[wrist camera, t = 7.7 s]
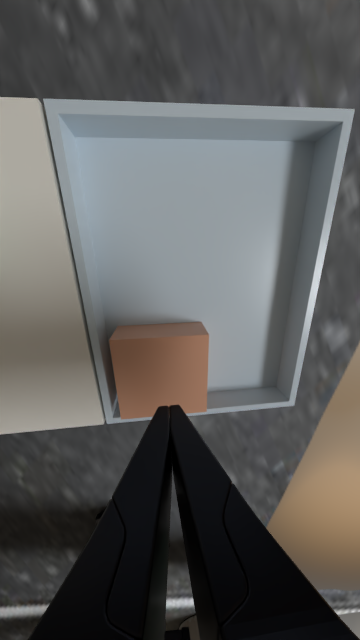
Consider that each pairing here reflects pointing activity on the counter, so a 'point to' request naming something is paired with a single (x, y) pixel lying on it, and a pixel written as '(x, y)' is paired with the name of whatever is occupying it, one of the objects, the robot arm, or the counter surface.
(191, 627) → the thermos bottle
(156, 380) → the tile terracotta
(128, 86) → the counter surface
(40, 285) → the board
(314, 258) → the box
